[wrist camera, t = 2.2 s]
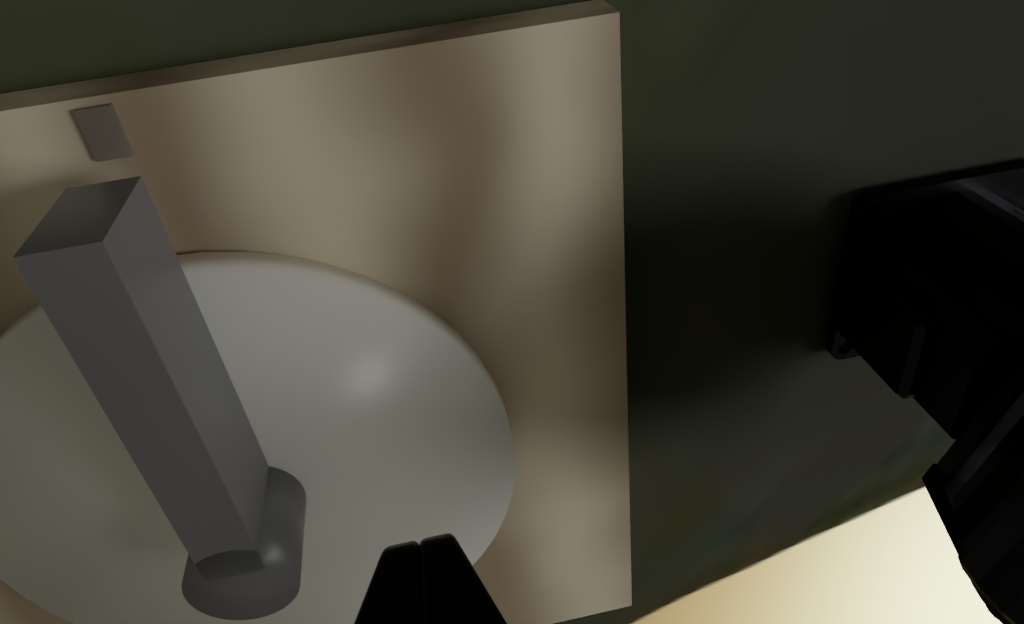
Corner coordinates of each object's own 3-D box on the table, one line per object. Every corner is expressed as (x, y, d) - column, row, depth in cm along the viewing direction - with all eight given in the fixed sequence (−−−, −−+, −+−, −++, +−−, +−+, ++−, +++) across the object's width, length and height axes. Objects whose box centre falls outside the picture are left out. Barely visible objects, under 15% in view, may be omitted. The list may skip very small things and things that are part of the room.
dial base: (601, -2, 18) (621, 13, 17) (621, 575, 32) (632, 608, 31) (-446, 164, 16) (-518, 196, 15) (60, 702, 30) (46, 743, 29)
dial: (531, 573, 28) (555, 673, 25) (106, 668, 27) (71, 787, 23) (460, 106, 17) (485, 174, 14) (-258, 226, 16) (-414, 332, 13)
